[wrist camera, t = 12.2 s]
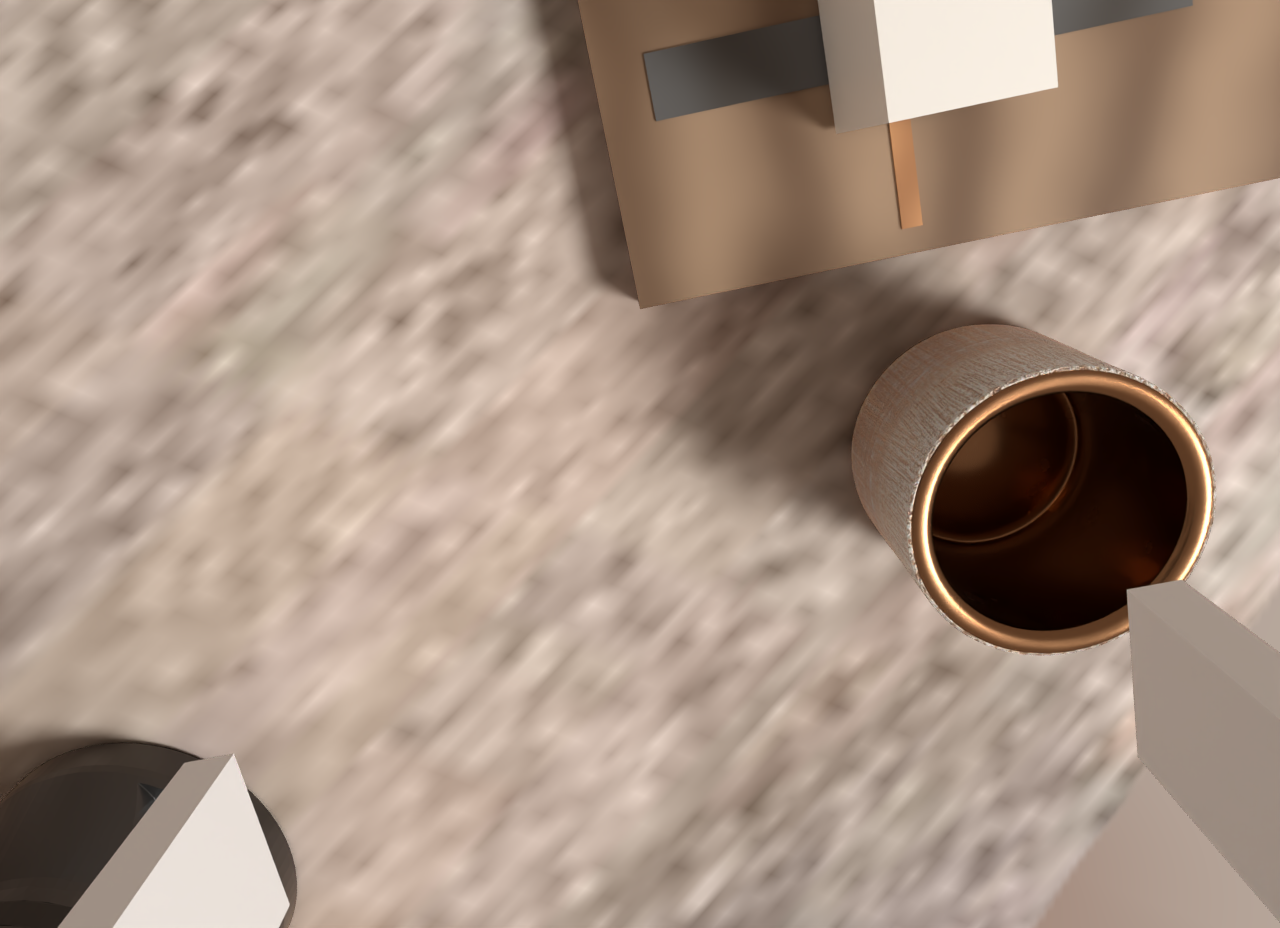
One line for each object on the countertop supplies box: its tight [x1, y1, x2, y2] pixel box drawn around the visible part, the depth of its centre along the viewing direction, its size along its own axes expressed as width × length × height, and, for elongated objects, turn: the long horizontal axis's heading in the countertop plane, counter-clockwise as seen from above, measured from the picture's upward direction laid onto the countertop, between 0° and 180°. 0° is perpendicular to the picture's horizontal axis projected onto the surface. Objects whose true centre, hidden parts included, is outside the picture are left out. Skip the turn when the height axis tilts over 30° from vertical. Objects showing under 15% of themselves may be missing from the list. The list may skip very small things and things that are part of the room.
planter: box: [851, 324, 1216, 656], centre depth 38 cm, size 11×11×10 cm
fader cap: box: [818, 0, 1058, 134], centre depth 32 cm, size 5×6×8 cm
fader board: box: [578, 0, 1280, 309], centre depth 37 cm, size 26×16×2 cm, turn 102°
